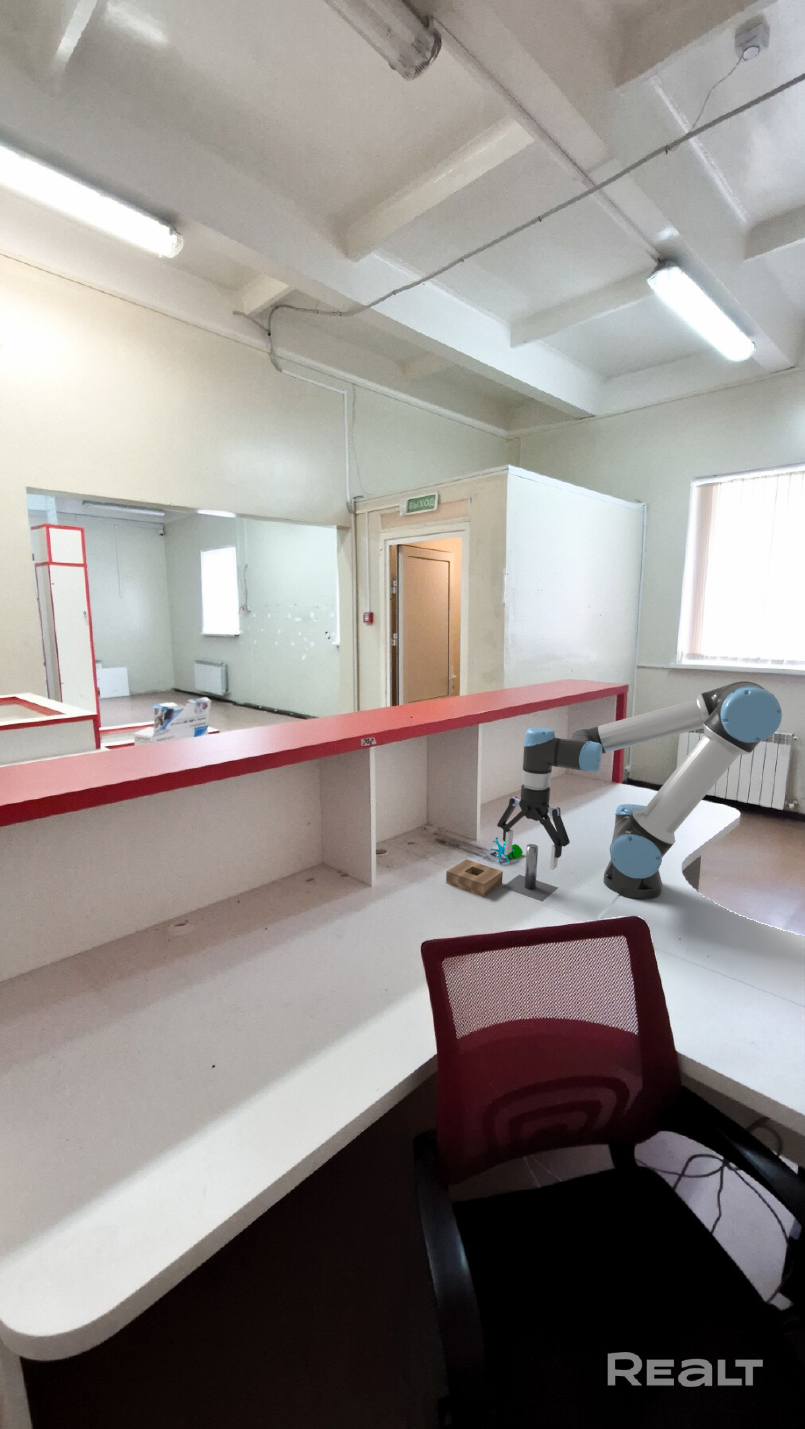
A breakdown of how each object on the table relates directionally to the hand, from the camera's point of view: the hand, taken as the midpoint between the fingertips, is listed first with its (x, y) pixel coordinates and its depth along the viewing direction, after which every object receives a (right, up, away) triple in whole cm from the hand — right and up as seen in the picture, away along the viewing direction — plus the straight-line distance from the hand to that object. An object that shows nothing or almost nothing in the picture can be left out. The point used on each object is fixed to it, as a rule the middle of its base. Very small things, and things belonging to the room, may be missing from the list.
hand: (530, 860), depth 159 cm
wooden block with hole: (-15, -8, +3) cm, 17 cm away
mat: (0, -8, +1) cm, 8 cm away
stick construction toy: (-4, -5, +21) cm, 22 cm away
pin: (0, -8, +1) cm, 8 cm away
